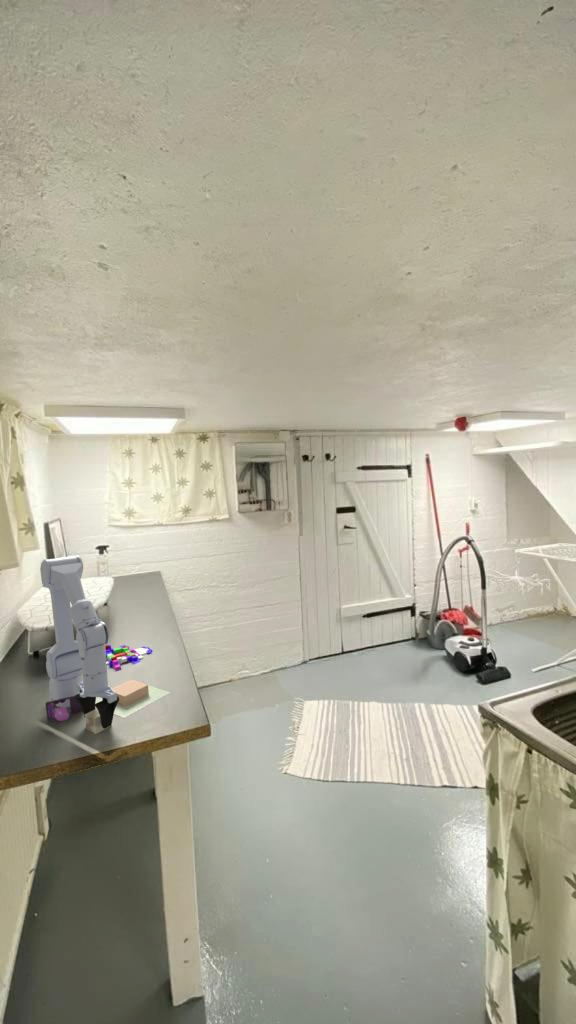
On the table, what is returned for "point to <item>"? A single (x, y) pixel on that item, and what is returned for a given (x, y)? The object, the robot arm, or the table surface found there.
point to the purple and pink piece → (62, 708)
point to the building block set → (129, 657)
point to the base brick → (130, 692)
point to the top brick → (93, 722)
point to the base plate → (138, 702)
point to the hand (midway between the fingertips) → (98, 722)
